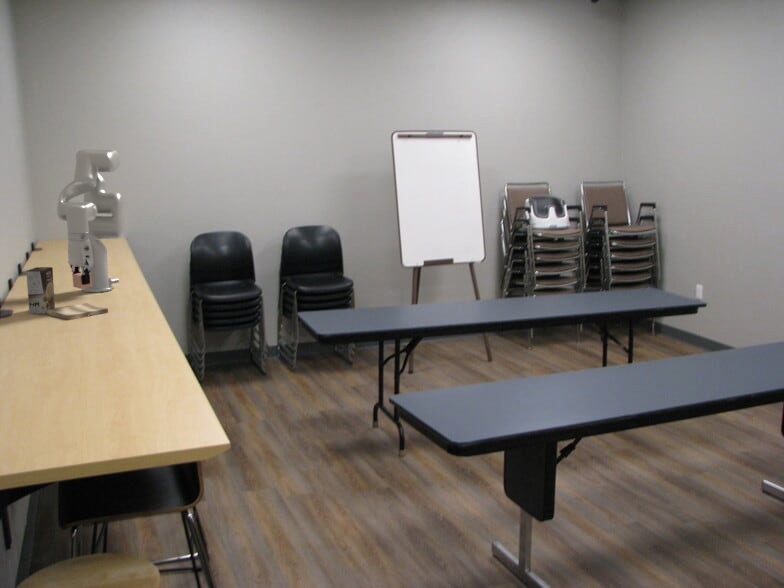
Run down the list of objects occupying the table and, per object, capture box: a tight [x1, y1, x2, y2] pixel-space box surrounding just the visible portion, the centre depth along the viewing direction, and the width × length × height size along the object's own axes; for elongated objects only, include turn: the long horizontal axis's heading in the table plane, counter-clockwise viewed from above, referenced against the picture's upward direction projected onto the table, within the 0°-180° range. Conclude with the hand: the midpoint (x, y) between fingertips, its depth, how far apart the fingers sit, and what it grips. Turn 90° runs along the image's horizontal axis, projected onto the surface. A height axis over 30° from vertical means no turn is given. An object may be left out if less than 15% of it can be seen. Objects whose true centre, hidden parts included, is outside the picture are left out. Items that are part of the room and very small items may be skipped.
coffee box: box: [25, 266, 56, 314], centre depth 275 cm, size 9×6×16 cm
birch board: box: [46, 302, 109, 321], centre depth 274 cm, size 16×14×2 cm
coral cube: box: [71, 272, 93, 290], centre depth 287 cm, size 5×5×5 cm
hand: (81, 282), depth 287 cm, fingers closed on coral cube, 5 cm apart
